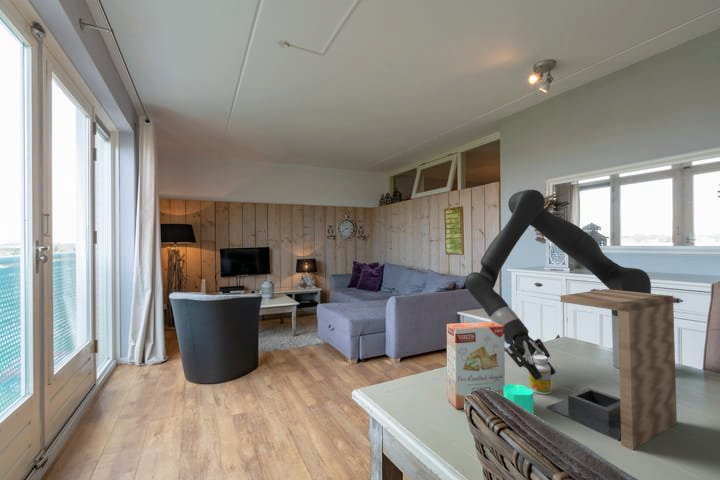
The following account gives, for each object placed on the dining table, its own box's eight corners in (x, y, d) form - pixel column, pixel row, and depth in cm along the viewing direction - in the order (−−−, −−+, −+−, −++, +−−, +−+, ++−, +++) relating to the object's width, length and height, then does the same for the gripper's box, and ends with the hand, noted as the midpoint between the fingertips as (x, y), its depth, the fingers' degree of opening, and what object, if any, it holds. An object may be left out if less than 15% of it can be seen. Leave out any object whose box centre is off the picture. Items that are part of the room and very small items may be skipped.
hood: (608, 398, 89) (605, 289, 89) (676, 423, 76) (673, 295, 77) (563, 418, 80) (560, 295, 80) (632, 449, 67) (628, 304, 68)
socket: (582, 394, 92) (582, 379, 92) (654, 420, 78) (653, 404, 78) (546, 408, 85) (545, 392, 85) (618, 440, 70) (617, 422, 70)
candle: (538, 447, 69) (537, 389, 69) (508, 444, 70) (506, 387, 70) (530, 430, 75) (528, 377, 75) (501, 428, 76) (500, 376, 76)
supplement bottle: (525, 387, 97) (525, 353, 97) (543, 386, 97) (542, 353, 97) (537, 395, 92) (536, 360, 92) (555, 394, 92) (554, 359, 92)
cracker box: (456, 410, 84) (454, 328, 84) (446, 399, 90) (445, 323, 90) (507, 405, 87) (505, 325, 87) (493, 394, 92) (492, 320, 93)
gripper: (499, 321, 98) (538, 375, 87) (531, 315, 105) (570, 365, 94) (485, 334, 103) (521, 388, 92) (516, 328, 109) (553, 377, 98)
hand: (546, 376), depth 93 cm, fingers closed on supplement bottle, 5 cm apart
